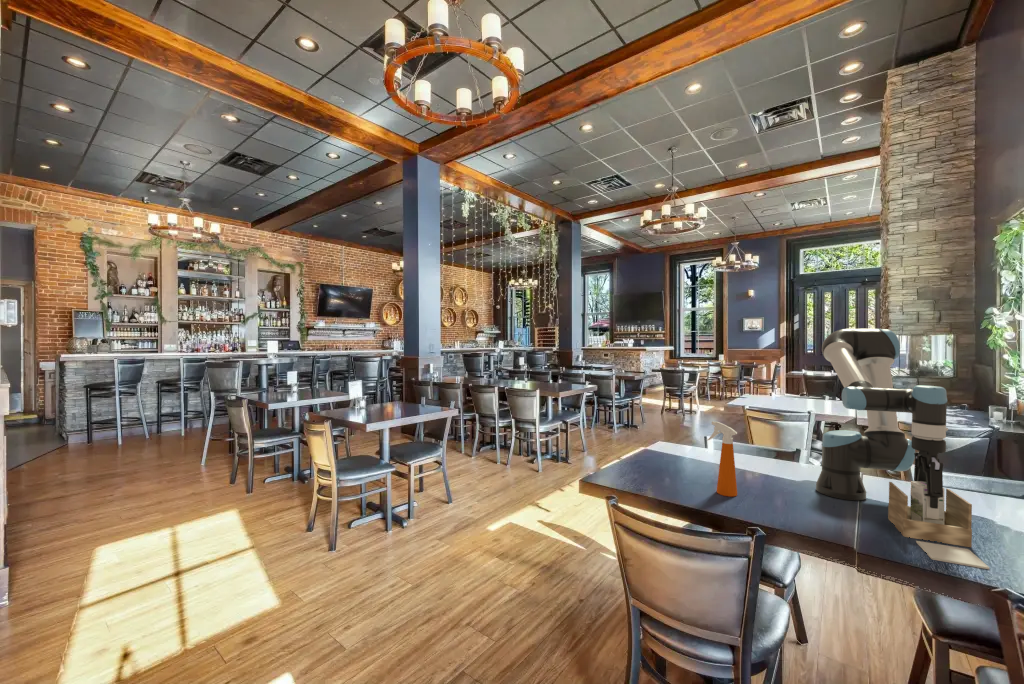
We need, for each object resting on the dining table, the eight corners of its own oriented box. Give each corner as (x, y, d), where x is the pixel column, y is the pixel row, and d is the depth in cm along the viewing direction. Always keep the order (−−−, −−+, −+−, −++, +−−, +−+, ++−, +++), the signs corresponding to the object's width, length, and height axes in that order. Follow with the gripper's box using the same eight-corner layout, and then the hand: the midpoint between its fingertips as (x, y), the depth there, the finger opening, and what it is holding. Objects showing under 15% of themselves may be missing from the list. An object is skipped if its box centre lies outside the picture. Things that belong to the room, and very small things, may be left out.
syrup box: (945, 537, 130) (946, 487, 130) (922, 535, 131) (922, 486, 131) (931, 529, 135) (932, 481, 135) (909, 527, 136) (909, 480, 136)
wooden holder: (904, 536, 130) (904, 495, 130) (888, 518, 143) (888, 481, 143) (971, 547, 123) (972, 504, 123) (948, 527, 136) (949, 488, 136)
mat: (931, 559, 116) (931, 557, 116) (916, 542, 126) (916, 540, 126) (989, 569, 111) (989, 567, 111) (968, 550, 121) (968, 549, 121)
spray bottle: (709, 486, 172) (710, 419, 172) (739, 493, 165) (740, 422, 165) (703, 491, 167) (704, 421, 166) (734, 498, 160) (735, 425, 160)
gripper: (960, 445, 122) (959, 528, 123) (931, 432, 140) (930, 505, 140) (924, 442, 126) (923, 523, 126) (901, 430, 143) (899, 501, 143)
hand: (927, 513), depth 133 cm, fingers closed on syrup box, 7 cm apart
